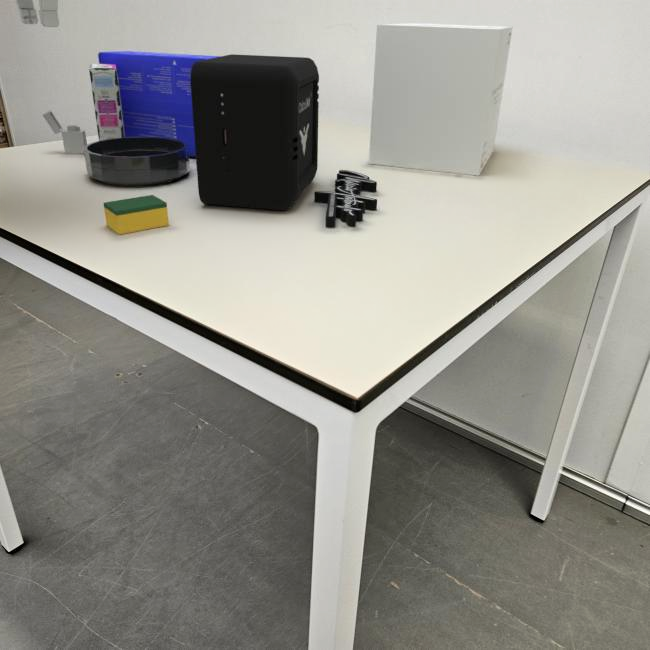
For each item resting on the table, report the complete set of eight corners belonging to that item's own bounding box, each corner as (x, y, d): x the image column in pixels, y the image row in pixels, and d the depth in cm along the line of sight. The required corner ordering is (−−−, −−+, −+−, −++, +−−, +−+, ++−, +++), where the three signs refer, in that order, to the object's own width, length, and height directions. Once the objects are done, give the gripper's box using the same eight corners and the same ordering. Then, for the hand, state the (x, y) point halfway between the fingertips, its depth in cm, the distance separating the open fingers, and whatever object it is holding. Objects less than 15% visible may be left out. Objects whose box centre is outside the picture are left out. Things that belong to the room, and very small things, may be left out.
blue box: (287, 161, 119) (286, 59, 110) (264, 170, 112) (261, 62, 103) (136, 139, 134) (125, 48, 125) (108, 145, 127) (95, 50, 119)
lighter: (88, 151, 122) (82, 110, 118) (86, 153, 120) (79, 111, 116) (52, 151, 121) (44, 110, 117) (49, 153, 119) (41, 111, 116)
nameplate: (318, 169, 107) (375, 170, 107) (318, 177, 108) (374, 179, 108) (309, 216, 83) (382, 218, 83) (309, 226, 84) (381, 229, 83)
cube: (478, 175, 112) (500, 29, 101) (368, 163, 118) (377, 24, 107) (493, 150, 133) (512, 26, 122) (399, 141, 139) (408, 22, 128)
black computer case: (293, 216, 88) (294, 67, 78) (198, 208, 90) (188, 62, 81) (319, 181, 105) (322, 57, 96) (239, 175, 108) (234, 53, 98)
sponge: (119, 234, 79) (115, 211, 78) (106, 225, 82) (103, 202, 81) (169, 225, 83) (166, 202, 81) (155, 216, 86) (152, 194, 85)
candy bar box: (128, 160, 116) (117, 68, 109) (101, 161, 115) (87, 68, 107) (126, 148, 126) (115, 62, 118) (101, 149, 124) (88, 62, 116)
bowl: (109, 193, 96) (104, 161, 94) (75, 171, 108) (70, 142, 106) (206, 179, 105) (204, 149, 103) (165, 159, 117) (162, 133, 115)
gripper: (-31, -101, 76) (-6, 22, 82) (7, -122, 62) (34, 28, 68) (22, -95, 79) (43, 22, 86) (70, -114, 65) (91, 28, 72)
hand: (39, 25), depth 77 cm, fingers open, 8 cm apart
